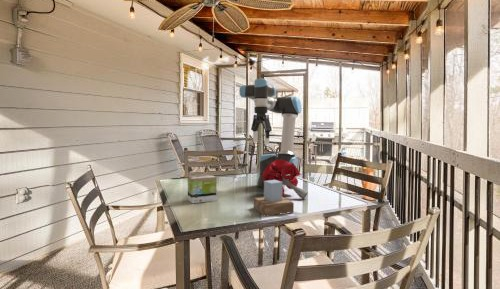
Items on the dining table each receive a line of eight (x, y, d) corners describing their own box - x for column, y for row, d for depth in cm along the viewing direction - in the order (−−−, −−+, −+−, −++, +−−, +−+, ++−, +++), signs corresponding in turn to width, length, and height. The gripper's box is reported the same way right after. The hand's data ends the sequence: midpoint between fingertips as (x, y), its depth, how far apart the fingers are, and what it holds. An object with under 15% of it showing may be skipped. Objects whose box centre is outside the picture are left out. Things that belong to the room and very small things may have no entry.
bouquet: (303, 204, 204) (267, 177, 215) (321, 175, 195) (282, 149, 206) (289, 215, 186) (251, 185, 197) (308, 184, 176) (266, 155, 188)
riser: (253, 208, 173) (253, 197, 173) (279, 205, 179) (280, 195, 178) (265, 217, 158) (265, 205, 158) (293, 213, 164) (293, 202, 163)
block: (264, 199, 169) (264, 181, 168) (274, 197, 173) (274, 179, 172) (271, 202, 163) (271, 183, 162) (282, 200, 167) (282, 182, 166)
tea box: (192, 204, 180) (192, 178, 179) (187, 200, 189) (187, 175, 188) (217, 200, 187) (216, 176, 186) (211, 197, 196) (210, 173, 195)
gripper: (245, 106, 190) (245, 141, 192) (266, 105, 167) (266, 145, 169) (256, 106, 193) (256, 141, 195) (278, 105, 171) (277, 144, 173)
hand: (260, 143), depth 182 cm, fingers open, 13 cm apart
